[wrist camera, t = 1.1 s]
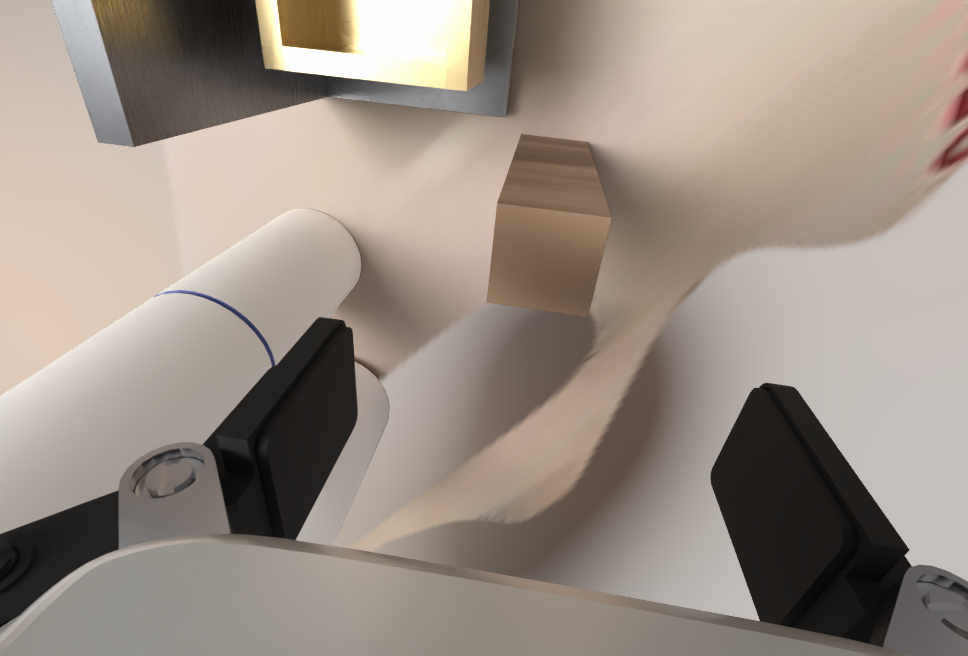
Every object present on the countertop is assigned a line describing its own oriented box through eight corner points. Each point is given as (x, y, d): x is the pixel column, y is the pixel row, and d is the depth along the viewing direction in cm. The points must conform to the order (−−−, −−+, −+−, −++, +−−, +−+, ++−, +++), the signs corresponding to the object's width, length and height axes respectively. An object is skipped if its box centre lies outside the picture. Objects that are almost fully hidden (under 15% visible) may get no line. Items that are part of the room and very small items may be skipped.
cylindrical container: (375, 241, 33) (63, 597, 12) (342, 314, 37) (58, 685, 16) (281, 189, 32) (-247, 480, 11) (256, 269, 36) (-175, 604, 15)
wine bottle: (285, 338, 39) (-220, 901, 14) (396, 363, 39) (97, 978, 13) (290, 421, 44) (-69, 941, 19) (389, 443, 44) (162, 998, 18)
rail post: (521, 134, 28) (497, 203, 16) (587, 142, 28) (611, 217, 16) (513, 199, 30) (486, 302, 19) (574, 207, 30) (587, 316, 18)
